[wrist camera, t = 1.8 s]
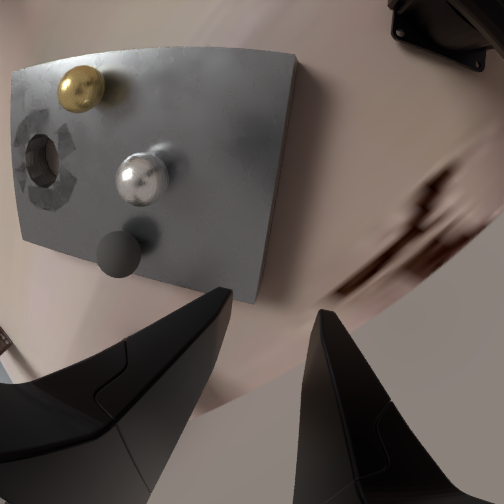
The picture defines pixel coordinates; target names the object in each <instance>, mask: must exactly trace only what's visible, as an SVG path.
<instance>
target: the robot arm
mask: <svg viewBox="0 0 504 504" xmlns="http://www.w3.org/2000/svg"><path fill="white" fill-rule="evenodd" d="M388 7H389V8H390V10H393V17H392V26H391V35H392V37H393V38H394V39H395V40H396V41H399V42H402V43H405V44H408V45H411V46H414V47H417V48H420V49H422V50H425V51H428V52H430V53H433V54H436V55H438V56H441V57H443V58H446V59H448V60H450V61H453V62H455V63H457V64H460V65H462V66H464V67H466V68H468V69H471V70H473V71H475V72H482V71H483V70H484V68H485V57H486V50H490V49H496V50H497V52H498V53H499V54H500V55H501V56H502V57H503V59H504V0H388ZM396 31H401V32H402V34H403V36H402V37H400V36H398V35H397V34H396ZM475 62H477V63H478V64H479V67H478V68H477V67H476V65H475ZM232 301H233V290H232V289H228V288H224V287H217V288H215V289H213V290H211V291H209V292H208V293H206V294H204V295H202V296H201V297H199V298H197V299H195V300H194V301H192V302H190V303H188V304H187V305H185V306H183V307H181V308H180V309H178V310H176V311H174V312H172V313H171V314H169V315H167V316H165V317H164V318H162V319H160V320H158V321H156V322H155V323H153V324H151V325H149V326H148V327H146V328H144V329H142V330H140V331H139V332H137V333H135V334H133V335H131V336H130V337H128V338H126V341H125V340H122V341H120V342H119V343H117V344H115V345H113V346H111V347H109V348H107V349H105V350H104V351H102V352H100V353H98V354H96V355H94V356H91V357H89V358H87V359H85V360H82V361H80V362H78V363H76V364H73V365H71V366H68V367H66V368H63V369H61V370H59V371H56V372H54V373H51V374H49V375H46V376H44V377H41V378H39V379H36V380H33V381H30V382H26V383H21V384H5V383H0V504H146V503H147V501H148V499H149V497H150V495H151V494H150V493H152V491H153V489H154V487H155V485H156V483H157V481H158V479H159V477H160V475H161V473H162V471H163V469H164V467H165V466H166V464H167V462H168V460H169V458H170V456H171V454H172V452H173V450H174V448H175V446H176V444H177V442H178V440H179V438H180V435H181V434H182V432H183V430H184V428H185V425H186V423H187V422H188V420H189V418H190V416H191V414H192V411H193V409H194V407H195V405H196V403H197V401H198V399H199V397H200V395H201V393H202V391H203V389H204V387H205V385H206V383H207V381H208V379H209V377H210V375H211V373H212V370H213V368H214V366H215V363H216V360H217V357H218V354H219V351H220V348H221V345H222V342H223V339H224V336H225V333H226V330H227V327H228V324H229V320H230V316H231V309H232ZM390 401H391V398H390V397H389V395H388V394H387V392H386V391H385V389H384V387H383V386H382V384H381V383H380V381H379V379H378V378H377V376H376V375H375V373H374V372H373V370H372V369H371V367H370V365H369V364H368V362H367V361H366V359H365V358H364V356H363V354H362V353H361V351H360V350H359V348H358V347H357V345H356V344H355V342H354V341H353V339H352V338H351V336H350V334H349V333H348V331H347V330H346V328H345V327H344V325H343V324H342V322H341V321H340V319H339V318H338V316H337V315H336V313H335V312H333V311H329V310H324V309H320V310H319V311H318V314H317V317H316V320H315V323H314V326H313V329H312V332H311V336H310V341H309V347H308V353H307V359H306V364H305V370H304V376H303V382H302V391H301V409H300V424H299V439H298V452H297V464H296V476H295V486H294V497H293V504H494V503H491V502H488V501H485V500H482V499H479V498H476V497H473V496H470V495H468V494H466V493H464V492H462V491H460V490H459V489H458V488H457V487H455V486H454V485H453V484H452V483H451V482H450V480H449V479H448V478H447V477H446V476H445V474H444V473H443V472H442V470H441V469H440V468H439V466H438V465H437V464H436V462H435V461H434V460H433V459H432V457H431V456H430V455H429V453H428V452H427V451H426V449H425V448H424V447H423V446H422V444H421V443H420V442H419V440H418V439H417V437H416V436H415V435H414V433H413V432H412V431H411V429H410V428H409V426H408V425H407V423H406V422H405V420H404V419H403V417H402V416H401V414H400V413H399V411H398V410H397V408H396V406H395V405H394V403H393V402H392V401H391V402H390Z"/></svg>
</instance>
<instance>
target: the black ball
mask: <svg viewBox="0 0 504 504" xmlns="http://www.w3.org/2000/svg"><path fill="white" fill-rule="evenodd" d="M96 258H97V262H98V265H99V267H100V268H101V270H102V271H103V272H104V273H106V274H107V275H109V276H111V277H114V278H123V277H127V276H129V275H131V274H132V273H133V272H134V271H135V270H136V269H137V268H138V266H139V264H140V260H141V248H140V245H139V243H138V241H137V240H136V239H135V238H134V237H133V236H132V235H131V234H129V233H127V232H124V231H113V232H111V233H109V234H107V235H105V236H104V237H103V238H102V239H101V241H100V242H99V244H98V247H97V251H96Z"/></svg>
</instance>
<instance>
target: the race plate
mask: <svg viewBox="0 0 504 504" xmlns="http://www.w3.org/2000/svg"><path fill="white" fill-rule="evenodd" d="M297 64H298V60H297V58H296V56H295V54H288V53H280V52H272V51H263V50H252V49H240V48H222V47H160V48H143V49H131V50H121V51H112V52H104V53H97V54H90V55H84V56H78V57H72V58H67V59H62V60H57V61H53V62H48V63H44V64H40V65H36V66H32V67H28V68H24V69H21V70H17V71H14V72H12V86H11V152H12V167H13V178H14V187H15V195H16V203H17V210H18V216H19V222H20V228H21V233H22V238H23V240H25V241H28V242H31V243H34V244H37V245H40V246H43V247H46V248H49V249H52V250H55V251H58V252H62V253H65V254H68V255H71V256H74V257H78V258H81V259H84V260H88V261H91V262H94V263H98V262H97V258H96V251H97V247H98V244H99V242H100V241H101V239H102V238H103V237H104V236H105V235H107V234H109V233H111V232H113V231H124V232H127V233H129V234H131V235H132V236H133V237H134V238H135V239H136V240H137V241H138V243H139V245H140V248H141V260H140V264H139V266H138V268H137V269H136V270H135V271H134V272H133V273H132V274H136V275H139V276H143V277H147V278H150V279H154V280H158V281H161V282H165V283H169V284H173V285H177V286H180V287H184V288H188V289H192V290H196V291H200V292H204V293H208V292H209V291H211V290H213V289H215V288H217V287H224V288H228V289H232V290H233V300H237V301H241V302H246V303H250V304H254V305H255V302H256V299H257V296H258V292H259V289H260V286H261V282H262V276H263V271H264V265H265V259H266V254H267V248H268V242H269V236H270V230H271V225H272V219H273V213H274V207H275V201H276V195H277V189H278V183H279V177H280V171H281V165H282V159H283V153H284V147H285V140H286V134H287V128H288V122H289V115H290V109H291V103H292V96H293V90H294V83H295V77H296V70H297ZM79 65H90V66H93V67H95V68H97V69H98V70H99V71H100V72H101V73H102V75H103V77H104V80H105V92H104V95H103V97H102V99H101V101H100V102H99V103H98V104H97V105H96V106H95V107H94V108H93V109H91V110H89V111H87V112H84V113H71V112H68V111H67V110H65V109H64V108H63V107H62V106H61V105H60V103H59V101H58V98H57V88H58V84H59V82H60V80H61V78H62V77H63V75H64V74H65V73H66V72H67V71H69V70H70V69H72V68H74V67H76V66H79ZM48 137H49V138H50V139H51V140H52V141H53V142H54V145H55V148H56V150H57V153H58V156H59V172H58V175H57V177H56V176H55V175H54V174H52V173H51V172H50V170H49V167H48V165H47V163H46V160H45V145H46V142H47V139H48ZM136 153H150V154H153V155H155V156H157V157H158V158H160V159H161V160H162V161H163V162H164V164H165V166H166V168H167V170H168V175H169V183H168V187H167V190H166V192H165V193H164V195H163V196H162V197H161V199H159V200H158V201H157V202H156V203H154V204H152V205H149V206H145V207H137V206H133V205H130V204H128V203H127V202H125V201H124V200H123V199H122V198H121V197H120V195H119V193H118V191H117V188H116V183H115V179H116V173H117V170H118V168H119V166H120V165H121V163H122V162H123V161H124V160H125V159H126V158H128V157H129V156H131V155H133V154H136Z"/></svg>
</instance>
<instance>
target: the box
mask: <svg viewBox="0 0 504 504" xmlns="http://www.w3.org/2000/svg"><path fill="white" fill-rule="evenodd" d="M11 345H12V342H11V341H10V339H9V338H8V337H7V335H6V334H5V333H4V331H3V330H2V329H1V328H0V356H1V355H2V354H3V353H4V352H5V351H6V350H7V349H8V348H9V347H10V346H11Z"/></svg>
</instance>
